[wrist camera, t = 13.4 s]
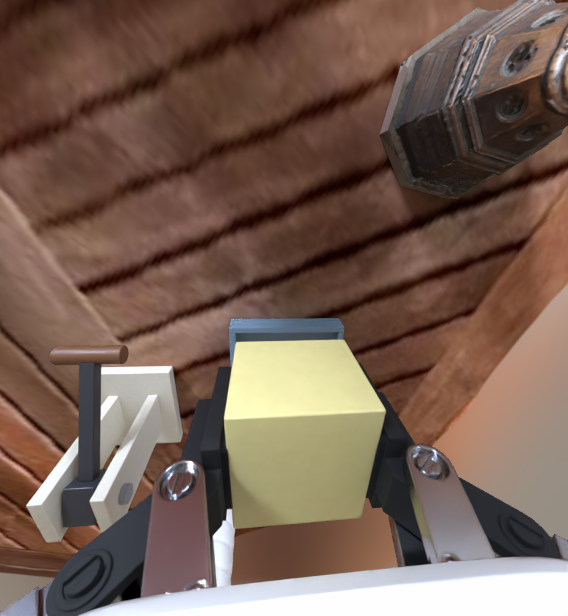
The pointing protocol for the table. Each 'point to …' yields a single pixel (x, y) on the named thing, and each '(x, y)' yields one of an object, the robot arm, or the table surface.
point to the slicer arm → (86, 426)
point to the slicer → (115, 431)
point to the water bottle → (224, 551)
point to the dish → (283, 330)
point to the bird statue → (479, 98)
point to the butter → (299, 432)
